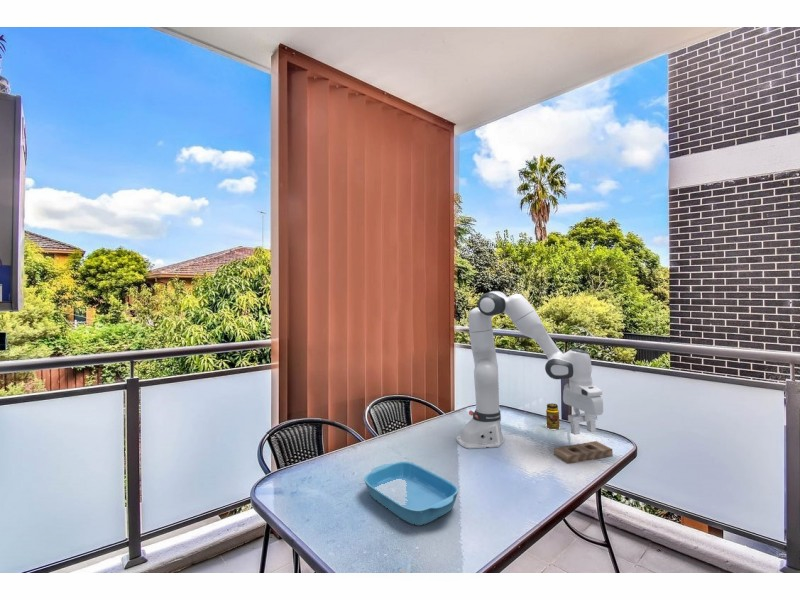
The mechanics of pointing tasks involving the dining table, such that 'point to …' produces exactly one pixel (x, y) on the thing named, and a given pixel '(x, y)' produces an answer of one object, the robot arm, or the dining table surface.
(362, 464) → the dining table surface
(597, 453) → the brown wooden block
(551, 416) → the condiment
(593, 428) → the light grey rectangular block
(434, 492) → the casserole dish
